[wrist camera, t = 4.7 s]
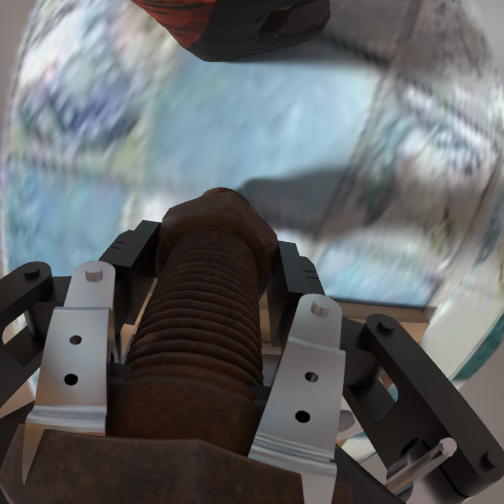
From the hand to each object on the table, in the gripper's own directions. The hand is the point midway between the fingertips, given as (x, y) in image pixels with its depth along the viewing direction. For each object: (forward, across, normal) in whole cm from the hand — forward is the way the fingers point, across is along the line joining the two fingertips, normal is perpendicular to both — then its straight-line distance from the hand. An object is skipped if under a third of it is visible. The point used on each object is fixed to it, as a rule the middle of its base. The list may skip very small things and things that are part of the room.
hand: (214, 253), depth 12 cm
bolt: (+5, 0, 0) cm, 5 cm away
